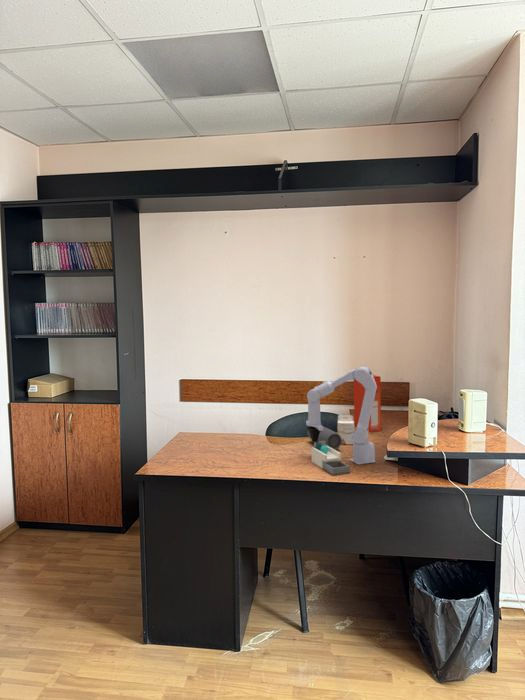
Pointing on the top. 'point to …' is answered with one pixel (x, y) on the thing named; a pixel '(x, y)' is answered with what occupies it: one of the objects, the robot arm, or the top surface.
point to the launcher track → (324, 456)
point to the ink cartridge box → (346, 429)
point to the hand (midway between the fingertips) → (314, 442)
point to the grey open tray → (336, 468)
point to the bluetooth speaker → (329, 438)
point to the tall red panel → (376, 408)
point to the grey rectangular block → (319, 444)
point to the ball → (324, 449)
